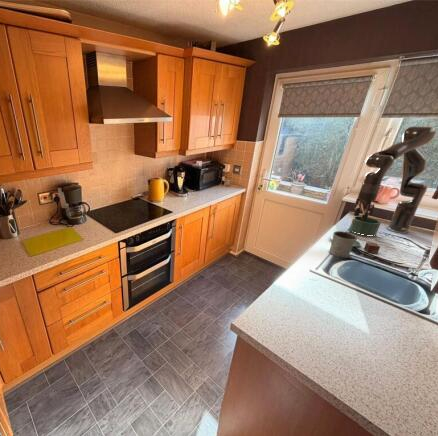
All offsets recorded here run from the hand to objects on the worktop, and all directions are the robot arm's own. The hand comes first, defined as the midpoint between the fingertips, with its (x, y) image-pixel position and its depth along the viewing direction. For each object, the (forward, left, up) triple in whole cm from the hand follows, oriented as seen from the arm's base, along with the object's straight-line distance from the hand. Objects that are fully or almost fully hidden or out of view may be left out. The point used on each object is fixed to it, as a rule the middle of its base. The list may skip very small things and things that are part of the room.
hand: (359, 218), depth 135 cm
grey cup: (+17, -10, -17) cm, 27 cm away
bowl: (-2, -2, -17) cm, 17 cm away
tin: (-24, +14, -17) cm, 32 cm away
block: (+6, +8, -17) cm, 20 cm away
